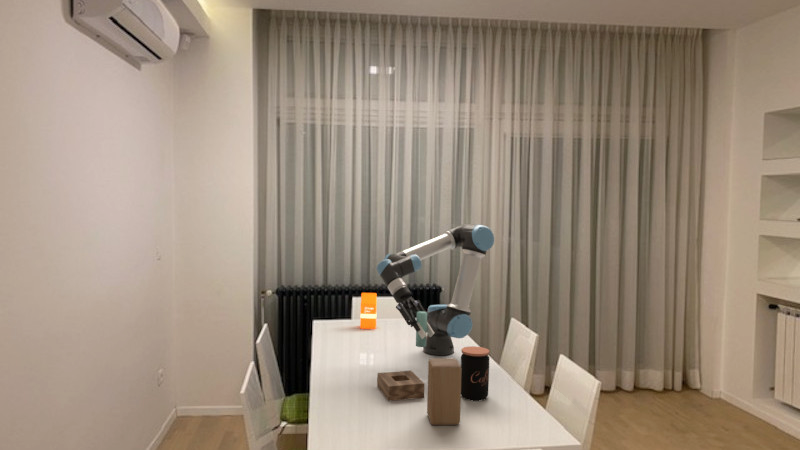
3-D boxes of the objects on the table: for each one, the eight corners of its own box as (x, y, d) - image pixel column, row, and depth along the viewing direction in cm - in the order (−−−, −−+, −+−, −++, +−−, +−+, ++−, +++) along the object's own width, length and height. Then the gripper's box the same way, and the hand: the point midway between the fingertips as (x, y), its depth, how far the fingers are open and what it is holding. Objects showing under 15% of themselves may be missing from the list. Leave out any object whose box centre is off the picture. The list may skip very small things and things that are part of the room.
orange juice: (375, 328, 319) (376, 294, 318) (360, 328, 319) (360, 293, 318) (376, 325, 327) (377, 291, 326) (361, 325, 327) (361, 291, 326)
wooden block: (426, 414, 194) (428, 357, 194) (455, 414, 195) (456, 357, 194) (430, 426, 185) (432, 366, 184) (460, 425, 185) (462, 366, 184)
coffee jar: (470, 403, 206) (471, 355, 205) (454, 394, 215) (455, 348, 215) (493, 399, 211) (495, 352, 210) (477, 390, 220) (478, 345, 219)
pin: (424, 344, 236) (425, 311, 235) (427, 346, 232) (428, 313, 231) (414, 344, 235) (415, 311, 234) (417, 347, 230) (418, 313, 230)
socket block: (410, 383, 226) (410, 370, 226) (424, 397, 211) (424, 383, 210) (377, 386, 222) (377, 373, 221) (388, 400, 206) (388, 386, 206)
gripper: (408, 294, 249) (436, 337, 239) (381, 298, 236) (409, 345, 226) (417, 283, 245) (446, 327, 235) (390, 287, 232) (419, 334, 222)
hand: (428, 336), depth 230 cm, fingers closed on pin, 4 cm apart
